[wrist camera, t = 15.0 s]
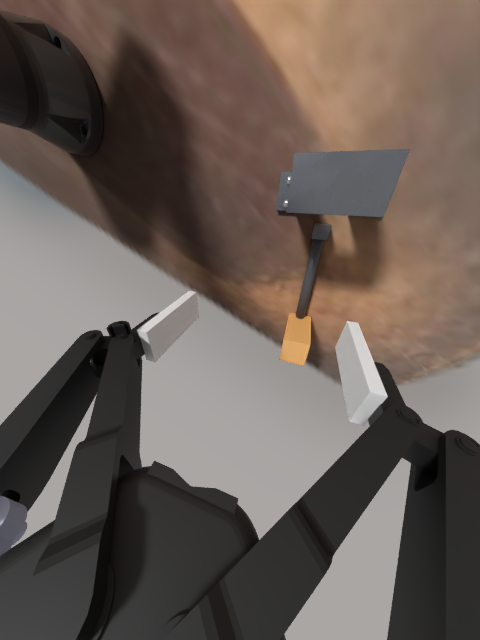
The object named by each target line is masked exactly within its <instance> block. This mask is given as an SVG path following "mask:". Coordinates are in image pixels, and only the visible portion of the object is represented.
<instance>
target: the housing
mask: <svg viewBox="0 0 480 640" xmlns="http://www.w3.org/2000/svg"><path fill="white" fill-rule="evenodd" d="M409 151H410V149H397V150H368V151H340V152H312V153H295V155H294V162H293V169H292V172H281V176H280V184H279V193H278V201H277V209H276V210H282V211H286V213H307V214H328V215H350V216H371V217H383V216H384V214H385V211H386V209H387V206H388V204H389V201H390V199H391V196H392V194H393V191H394V189H395V186H396V184H397V181H398V179H399V176H400V174H401V171H402V168H403V166H404V163H405V161H406V158H407V156H408V153H409Z"/></svg>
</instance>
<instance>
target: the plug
mask: <svg viewBox="0 0 480 640" xmlns="http://www.w3.org/2000/svg"><path fill="white" fill-rule="evenodd" d="M330 230H331V225H330V224H321V223H314V228H313V232H312V238H311V239H313V241H312V246H311V250H310V254H309V259H308V263H307V268H306V272H305V277H304V281H303V285H302V290H301V294H300V299H299V303H298V307H297V312H296V314H294V313H289V318H288V322H287V327H286V331H285V335H284V340H283V345H282V350H281V355H280V360H282V361H286V362H290V363H294V364H298V365H301V366H304V364H305V361H306V358H307V355H308V352H309V348H310V343H311V317H310V316H305V313H306V309H307V305H308V301H309V297H310V294H311V290H312V286H313V282H314V278H315V274H316V270H317V266H318V262H319V259H320V255H321V251H322V247H323V243H324V240H328V237H329V234H330Z"/></svg>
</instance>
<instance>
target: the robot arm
mask: <svg viewBox="0 0 480 640" xmlns="http://www.w3.org/2000/svg"><path fill="white" fill-rule="evenodd" d="M0 123H3V124H7V125H11V126H15V127H18V128H22V129H25V130H29V131H31V132H32V133H34V134H36V135H38V136H39V137H41V138H43V139H45V140H47V141H48V142H50V143H52V144H54V145H55V146H57V147H59V148H61V149H63V150H64V151H67V152H69V153H72V154H77V155H81V156H89V155H92V154H93V153H94V152H95V151H96V150H97V149H98V147H99V145H100V143H101V139H102V134H103V112H102V106H101V101H100V96H99V93H98V89H97V86H96V83H95V80H94V78H93V75H92V73H91V71H90V69H89V67H88V65H87V63H86V61H85V59H84V58H83V56H82V54H81V53H80V52H79V50H78V49H77V48H76V46H75V45H74V44H73V43H72V42H71V41H70V40H69V39H68V38H67V37H66V36H64V35H63V34H61V33H60V32H59V31H57V30H56V29H54V28H53V27H51V26H50V25H48V24H46V23H44V22H42V21H40V20H36V19H33V18H29V17H25V16H21V15H17V14H13V13H10V12H6V11H2V10H0ZM198 317H199V314H198V303H197V293H196V292H193V291H188V292H187V293H186V294H184V295H183V296H182V297H180V298H179V299H178V300H176V301H175V302H174V303H172V304H171V305H170V306H168V307H167V308H166V309H164V310H163V311H162V312H160V313H156V314H153V315H151V316H150V317H148V318H147V319H146V320H144V321H143V322H141V323H140V324H139V325H137V326H136V327H135V328H133V329H132V330H131V328H130V325H129V323H128V322H126V321H118V322H114V323H112V324H110V325H109V326H108V327H107V331H108V333H109V335H110V336H103V334H102V332H101V331H98V330H93V331H88V332H86V333H84V334H82V335H81V336H80V337H79V338H78V339H77V340H76V341H75V342H74V344H73V345H72V346H71V347H70V348H69V349H68V350H67V352H65V354H64V355H63V356H62V357H61V358H60V359H59V360H58V361H57V362H56V364H55V365H54V366H53V367H52V368H51V369H50V371H48V373H47V374H46V375H45V376H44V377H43V378H42V379H41V380H40V382H39V383H38V384H37V385H36V386H35V387H34V388H33V389H32V390H31V392H30V393H29V394H28V395H27V396H26V397H25V399H24V400H23V401H22V402H21V403H20V404H19V405H18V406H17V407H16V408H15V410H14V411H13V412H12V413H11V414H10V415H9V416H8V417H7V419H6V420H5V421H4V422H3V423H2V424H1V425H0V640H286V639H285V635H284V633H285V631H286V630H287V629H288V627H289V626H290V625H291V623H292V622H293V620H294V619H295V617H296V616H297V614H298V613H299V611H300V610H301V609H302V607H303V605H304V604H305V603H306V601H307V600H308V598H309V597H310V595H311V594H312V593H313V591H314V590H315V588H316V587H317V585H318V584H319V582H320V581H321V579H322V578H323V576H324V575H325V574H326V572H327V570H328V569H329V567H330V565H331V563H332V557H333V555H334V553H335V552H336V550H337V549H338V547H339V546H340V544H341V543H342V542H343V540H344V539H345V537H346V536H347V535H348V533H349V532H350V530H351V529H352V527H353V526H354V525H355V523H356V522H357V520H358V519H359V518H360V516H361V515H362V513H363V512H364V510H365V509H366V508H367V506H368V505H369V503H370V502H371V501H372V499H373V498H374V496H375V495H376V493H377V492H378V491H379V489H380V488H381V486H382V485H383V484H384V482H385V481H386V479H387V477H388V476H389V475H390V473H391V472H392V471H393V469H394V468H395V467H396V465H397V464H398V462H399V461H400V459H401V458H404V459H406V460H407V461H409V462H410V463H411V470H410V476H409V484H408V492H407V498H406V505H405V513H404V521H403V527H402V536H401V542H400V549H399V557H398V565H397V571H396V579H395V587H394V594H393V601H392V609H391V616H390V623H389V630H388V638H387V640H480V445H479V444H478V443H477V442H476V441H475V440H474V439H472V438H470V437H469V436H467V435H466V434H463V433H461V432H459V431H455V430H449V431H447V432H445V433H442V432H440V431H438V430H436V429H434V428H432V427H430V426H428V425H426V424H424V423H423V422H422V420H421V418H420V417H419V415H418V414H417V413H416V412H415V411H413V410H412V409H411V408H409V407H407V406H406V405H405V403H404V401H403V399H402V397H401V394H400V392H399V390H398V388H397V386H396V385H395V382H394V380H393V379H392V375H391V373H390V371H389V370H388V369H387V368H386V367H385V366H384V365H383V364H381V363H377V362H374V361H373V359H372V356H371V354H370V351H369V349H368V346H367V344H366V342H365V339H364V337H363V334H362V332H361V329H360V327H359V324H358V323H355V322H350V321H347V323H346V325H345V327H344V329H343V331H342V334H341V336H340V338H339V340H338V342H337V345H336V347H335V349H336V354H337V360H338V365H339V371H340V376H341V382H342V387H343V393H344V398H345V404H346V409H347V414H348V420H349V421H350V422H353V423H357V424H360V425H364V424H365V423H366V422H367V421H369V425H370V427H369V428H368V429H367V430H366V431H365V432H364V433H363V434H362V435H361V436H360V437H359V438H358V439H357V440H356V441H355V443H353V444H352V445H351V447H350V448H349V449H348V450H347V451H346V452H345V453H344V454H343V455H342V456H341V457H340V458H339V459H338V460H337V461H336V462H335V463H334V464H333V465H332V466H331V467H330V468H329V469H328V470H327V471H326V473H325V474H324V475H323V476H322V477H321V478H320V479H319V480H318V481H317V482H316V483H315V484H314V485H313V486H312V487H311V488H310V489H309V490H308V491H307V492H306V493H305V494H304V495H303V497H301V498H300V499H299V501H298V502H297V503H295V504H294V505H293V506H292V507H291V508H290V509H289V510H288V511H287V512H286V513H285V514H284V515H283V517H282V518H281V519H280V520H279V521H278V522H277V523H276V524H275V525H274V526H273V527H272V528H271V529H270V530H269V531H268V532H267V533H266V534H265V535H264V536H263V538H261V539H260V540H259V538H258V535H257V533H256V530H255V528H254V526H253V524H252V522H251V520H250V519H249V517H248V516H247V514H246V513H245V512H244V510H243V509H242V508H241V507H240V506H239V505H238V504H237V503H238V498H236V497H234V496H231V495H229V494H227V493H225V492H223V491H220V490H218V489H215V488H203V487H192V486H190V485H188V484H187V483H186V482H185V481H184V480H183V479H182V478H181V477H180V476H179V475H178V474H177V473H176V472H175V471H174V470H173V469H171V468H169V467H167V466H165V465H163V464H160V463H158V462H156V461H154V462H153V464H152V466H149V467H142V466H141V459H140V453H139V447H140V414H141V412H140V411H141V381H142V358H141V357H142V356H143V355H144V354H145V356H146V359H147V360H150V361H154V362H156V361H157V360H158V359H159V358H160V357H161V356H162V354H164V352H165V351H166V350H167V349H168V348H169V347H170V346H171V345H172V344H173V343H174V342H175V341H176V340H177V339H178V338H179V337H180V336H181V335H182V334H183V333H184V332H185V330H186V329H187V328H188V327H189V326H190V325H191V324H192V323H193V322H194V321H195V320H196V319H197V318H198ZM90 361H91V362H90ZM96 394H97V396H96ZM95 396H96V400H95V404H94V408H93V412H92V416H91V420H90V424H89V428H88V432H87V436H86V439H85V440H84V441H82V442H80V443H79V444H78V445H77V447H76V449H75V451H74V455H73V458H72V462H71V465H70V469H69V472H68V476H67V479H66V483H65V487H64V490H63V494H62V497H61V501H60V504H59V508H58V512H57V515H56V519H55V520H54V521H53V522H51V523H50V524H48V525H47V526H45V527H43V528H42V529H40V530H39V531H37V532H36V533H34V534H33V535H31V536H30V537H28V538H27V539H25V540H24V541H22V542H21V543H19V544H17V545H16V546H14V547H13V548H11V546H12V545H14V544H15V543H16V542H17V541H19V539H20V538H21V537H22V536H23V534H24V533H25V531H26V529H27V523H26V522H25V520H26V517H27V512H28V510H29V509H30V508H31V507H32V505H33V504H34V502H35V501H36V499H37V498H38V496H39V495H40V494H41V492H42V490H43V489H44V487H45V486H46V484H47V482H48V481H49V479H50V477H51V475H52V474H53V472H54V470H55V468H56V466H57V465H58V463H59V461H60V459H61V457H62V456H63V453H64V452H65V450H66V448H67V447H68V445H69V443H70V441H71V439H72V437H73V435H74V434H75V432H76V430H77V428H78V426H79V425H80V423H81V421H82V419H83V417H84V416H85V414H86V412H87V410H88V408H89V406H90V404H91V403H92V401H93V399H94V397H95Z"/></svg>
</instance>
